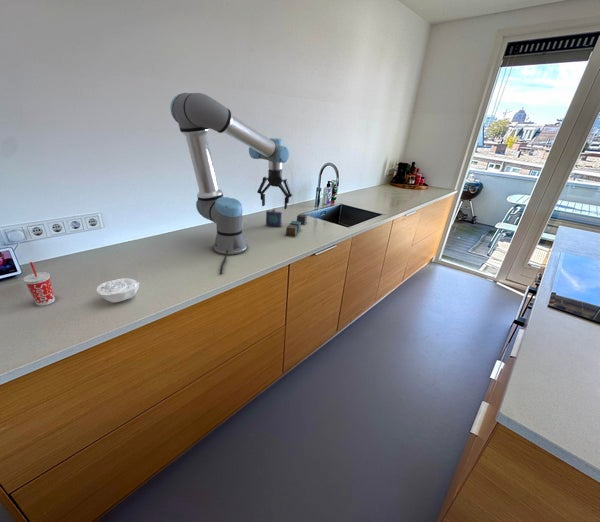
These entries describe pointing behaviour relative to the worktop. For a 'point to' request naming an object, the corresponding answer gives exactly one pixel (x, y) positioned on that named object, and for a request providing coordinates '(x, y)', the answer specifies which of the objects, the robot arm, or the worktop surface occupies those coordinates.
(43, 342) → the worktop surface
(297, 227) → the block
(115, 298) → the cell model
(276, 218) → the flask
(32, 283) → the beverage cup
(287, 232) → the block
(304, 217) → the block
